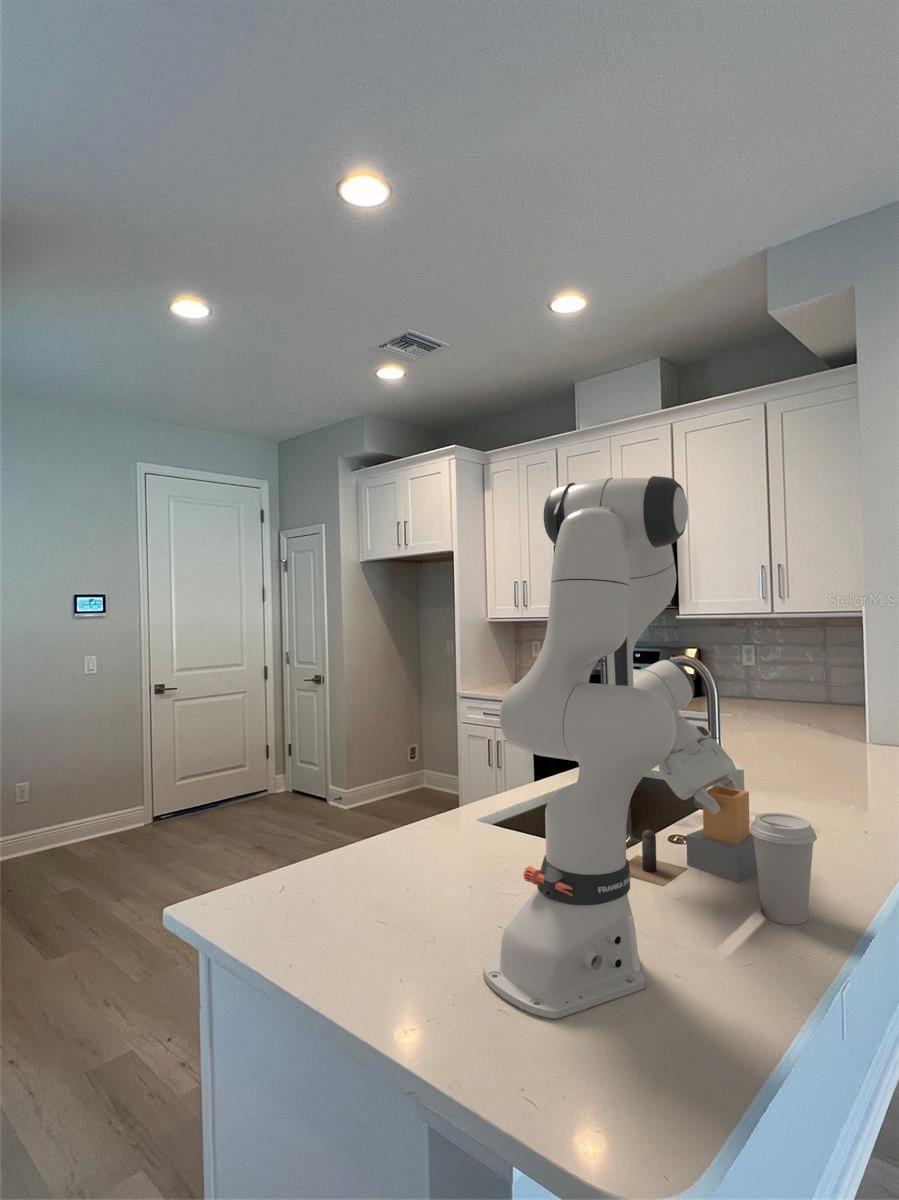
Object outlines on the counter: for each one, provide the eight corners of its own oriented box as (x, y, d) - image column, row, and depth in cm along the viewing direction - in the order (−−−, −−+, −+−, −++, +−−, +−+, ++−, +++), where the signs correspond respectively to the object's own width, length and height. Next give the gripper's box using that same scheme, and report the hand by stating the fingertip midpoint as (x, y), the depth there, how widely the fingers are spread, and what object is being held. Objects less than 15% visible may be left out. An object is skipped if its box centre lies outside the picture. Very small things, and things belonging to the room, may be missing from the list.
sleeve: (737, 844, 122) (736, 798, 122) (703, 836, 126) (702, 792, 126) (749, 835, 126) (748, 791, 126) (716, 828, 130) (716, 785, 130)
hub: (738, 890, 119) (736, 814, 119) (687, 873, 127) (685, 801, 127) (768, 875, 125) (767, 802, 125) (718, 859, 133) (716, 790, 133)
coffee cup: (737, 908, 113) (736, 815, 113) (783, 898, 116) (781, 808, 116) (785, 934, 104) (783, 834, 104) (832, 922, 107) (831, 825, 107)
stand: (663, 894, 118) (662, 843, 118) (610, 879, 125) (609, 831, 125) (688, 876, 126) (687, 828, 126) (637, 863, 132) (636, 817, 132)
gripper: (662, 743, 123) (719, 809, 117) (709, 726, 138) (761, 783, 132) (640, 764, 126) (693, 830, 120) (688, 745, 141) (738, 802, 135)
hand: (729, 805), depth 126 cm, fingers open, 8 cm apart
